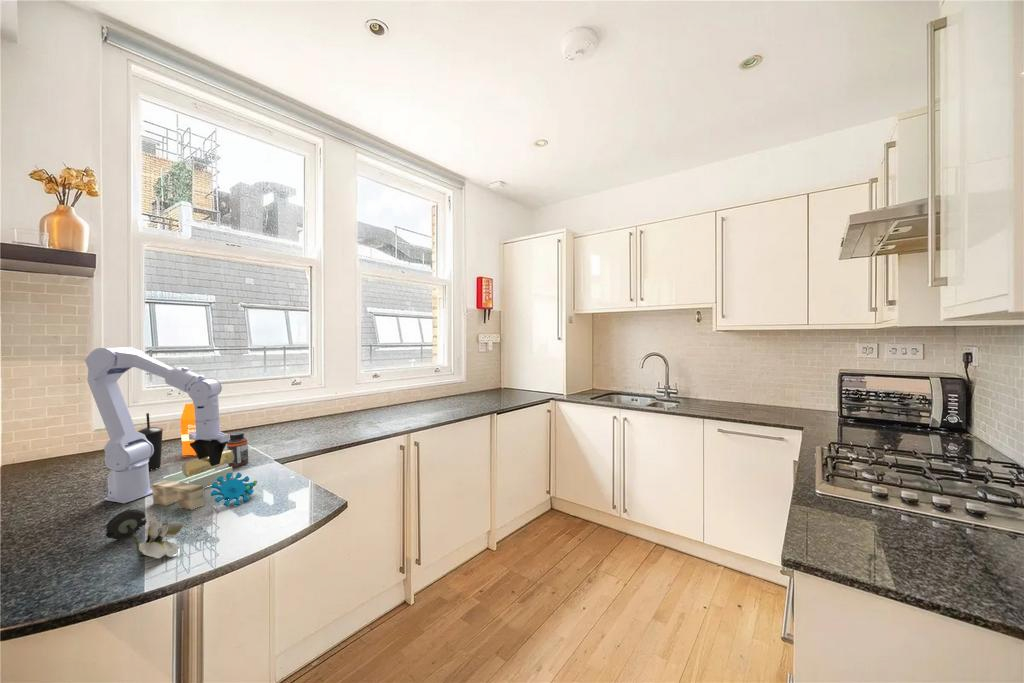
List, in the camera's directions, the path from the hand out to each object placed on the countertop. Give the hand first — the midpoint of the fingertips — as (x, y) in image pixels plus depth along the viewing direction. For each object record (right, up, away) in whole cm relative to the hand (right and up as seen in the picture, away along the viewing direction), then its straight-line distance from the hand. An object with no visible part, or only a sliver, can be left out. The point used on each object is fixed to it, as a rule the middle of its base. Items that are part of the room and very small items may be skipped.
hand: (210, 464), depth 114 cm
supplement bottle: (-7, -7, +22) cm, 25 cm away
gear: (+14, -8, -9) cm, 19 cm away
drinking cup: (-37, -9, +21) cm, 44 cm away
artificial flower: (+11, -9, -31) cm, 34 cm away
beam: (-1, -8, -9) cm, 13 cm away
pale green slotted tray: (-8, -8, +5) cm, 12 cm away
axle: (0, 0, 0) cm, 1 cm away
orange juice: (-35, -8, +39) cm, 53 cm away
